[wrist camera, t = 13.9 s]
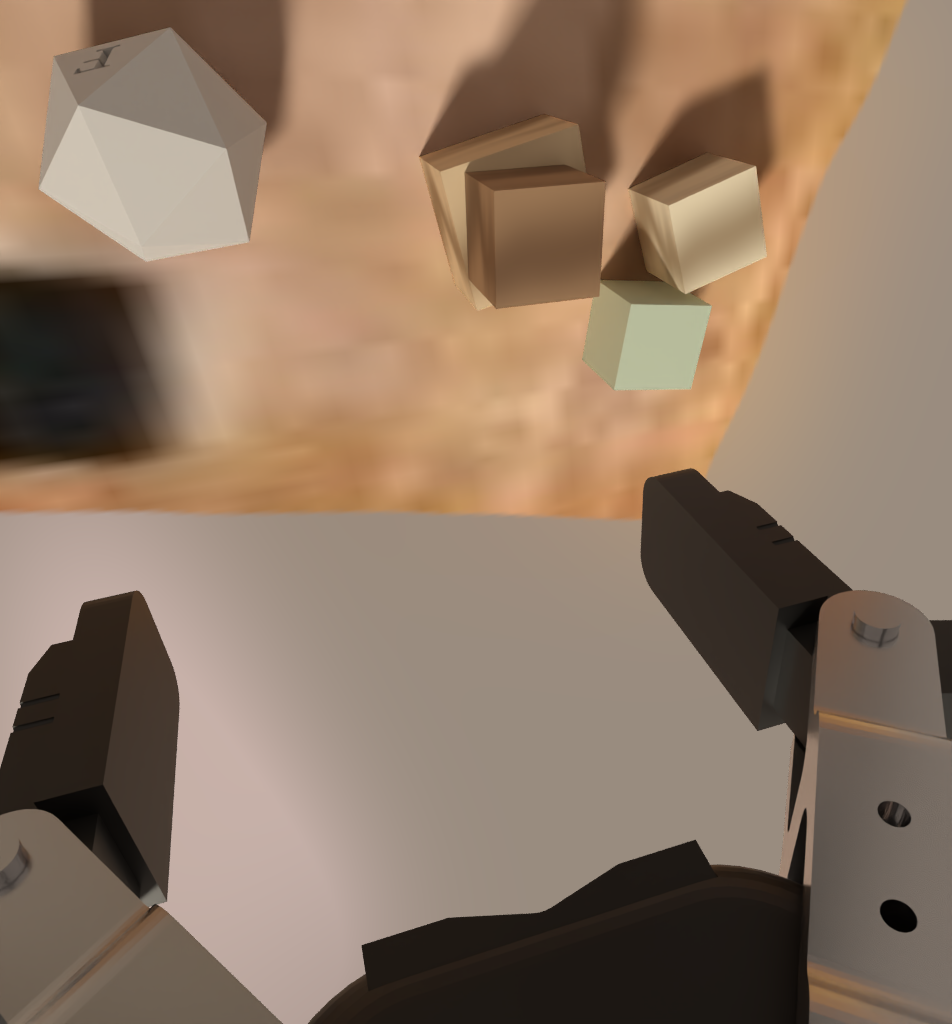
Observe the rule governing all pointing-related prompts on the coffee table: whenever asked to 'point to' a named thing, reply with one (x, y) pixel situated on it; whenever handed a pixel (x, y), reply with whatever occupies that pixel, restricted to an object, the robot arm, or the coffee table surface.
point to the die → (152, 146)
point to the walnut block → (534, 234)
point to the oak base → (492, 151)
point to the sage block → (645, 335)
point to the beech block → (699, 221)
